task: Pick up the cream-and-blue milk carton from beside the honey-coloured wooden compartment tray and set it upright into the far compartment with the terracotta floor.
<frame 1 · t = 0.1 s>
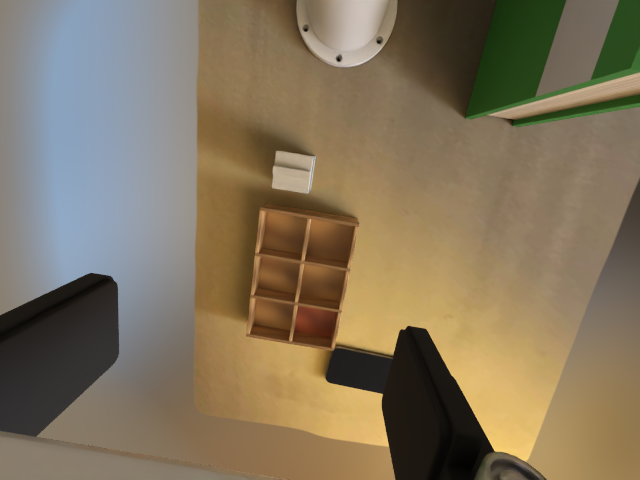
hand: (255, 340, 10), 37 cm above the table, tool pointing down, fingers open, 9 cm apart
compartment tray: (301, 274, 49), on the table
milk carton: (297, 170, 44), on the table
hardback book: (511, 50, 39), on the table
smartphone: (371, 370, 53), on the table
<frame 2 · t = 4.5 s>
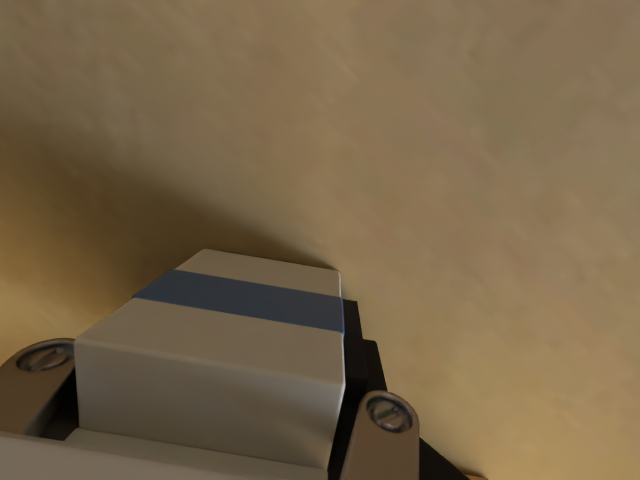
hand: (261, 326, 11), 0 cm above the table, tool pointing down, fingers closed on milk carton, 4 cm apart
milk carton: (264, 319, 11), on the table, touching gripper
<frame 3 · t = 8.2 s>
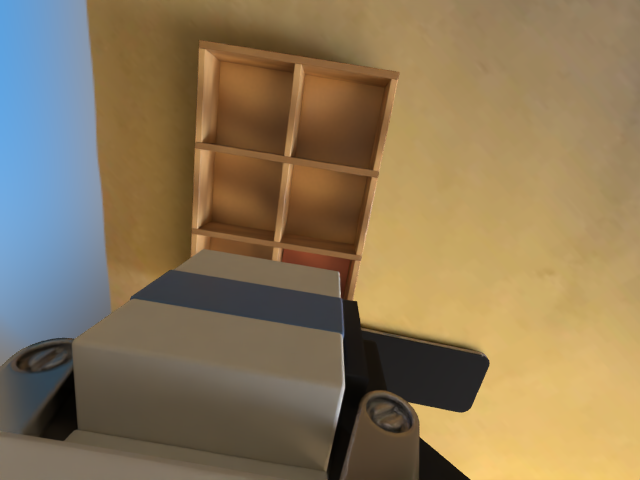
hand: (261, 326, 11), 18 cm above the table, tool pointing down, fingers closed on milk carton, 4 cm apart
compartment tray: (288, 197, 27), on the table
milk carton: (263, 320, 11), point 17 cm above the table, touching gripper
smartphone: (406, 366, 32), on the table
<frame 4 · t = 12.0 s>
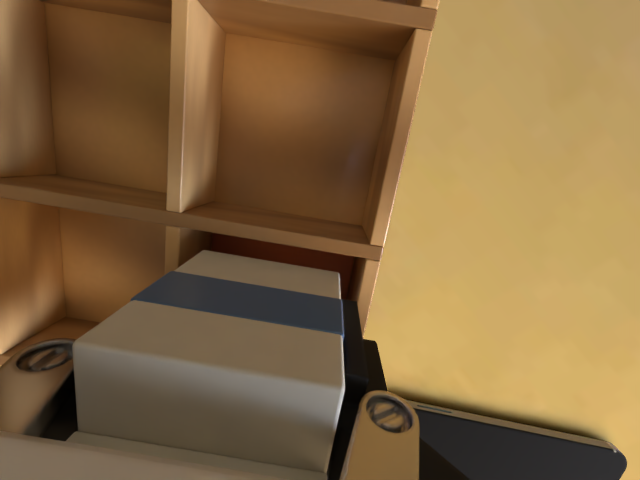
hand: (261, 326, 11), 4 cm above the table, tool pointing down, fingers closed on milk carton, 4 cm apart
compartment tray: (219, 123, 13), on the table
milk carton: (264, 321, 11), point 3 cm above the table, touching gripper
smartphone: (459, 462, 17), on the table
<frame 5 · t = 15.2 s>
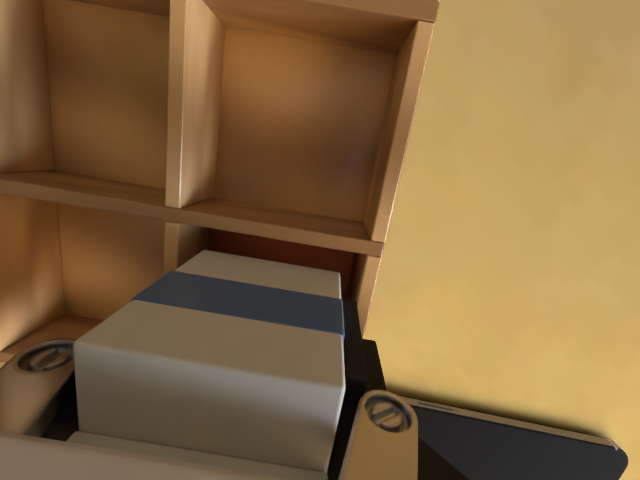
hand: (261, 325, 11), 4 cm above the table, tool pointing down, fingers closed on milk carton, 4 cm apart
compartment tray: (219, 118, 13), on the table
milk carton: (264, 321, 11), point 3 cm above the table, touching gripper
smartphone: (459, 460, 17), on the table
when the fingers open (5 cm above the table, at t = 17.8 s): milk carton drops 3 cm, resting on compartment tray.
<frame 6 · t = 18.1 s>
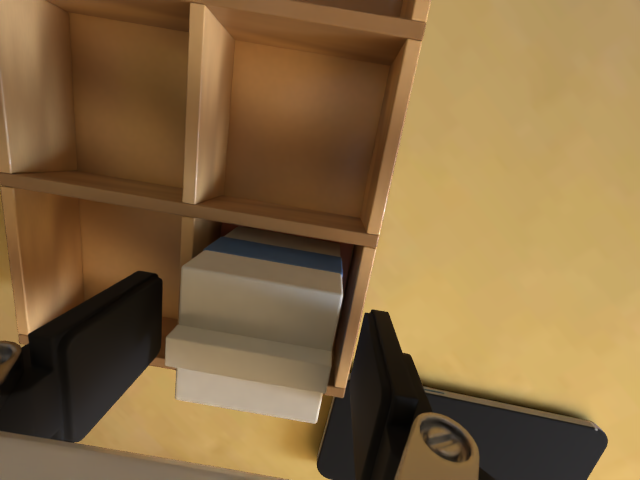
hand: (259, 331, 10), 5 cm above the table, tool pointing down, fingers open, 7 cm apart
compartment tray: (228, 123, 14), on the table
milk carton: (282, 281, 15), point 1 cm above the table, touching compartment tray
smartphone: (451, 442, 18), on the table
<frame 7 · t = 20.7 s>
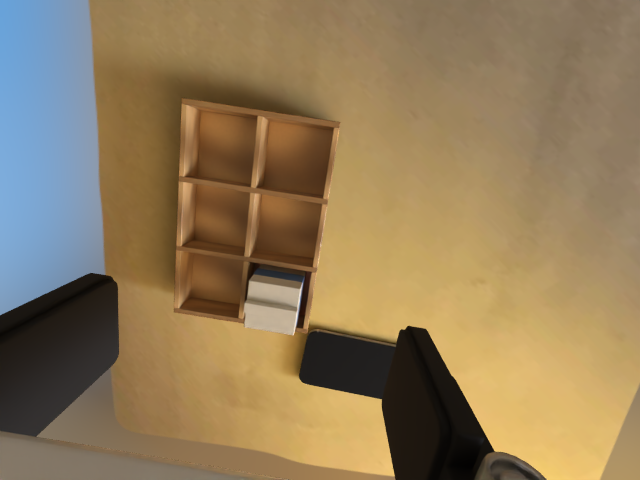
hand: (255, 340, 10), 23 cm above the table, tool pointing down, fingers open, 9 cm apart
compartment tray: (258, 219, 33), on the table
milk carton: (281, 285, 33), point 1 cm above the table, touching compartment tray
smartphone: (365, 364, 36), on the table
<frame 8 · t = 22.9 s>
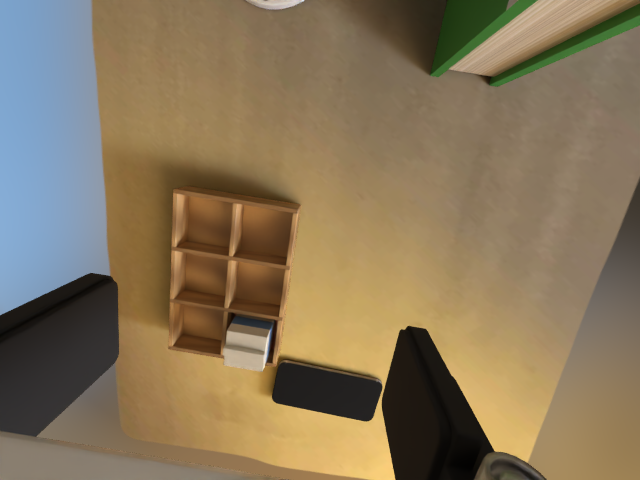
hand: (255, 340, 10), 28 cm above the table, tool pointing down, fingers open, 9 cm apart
compartment tray: (237, 273, 40), on the table
milk carton: (256, 326, 41), point 1 cm above the table, touching compartment tray
smartphone: (326, 388, 44), on the table
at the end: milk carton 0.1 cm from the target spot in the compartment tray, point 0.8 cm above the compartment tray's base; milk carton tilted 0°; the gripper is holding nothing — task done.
